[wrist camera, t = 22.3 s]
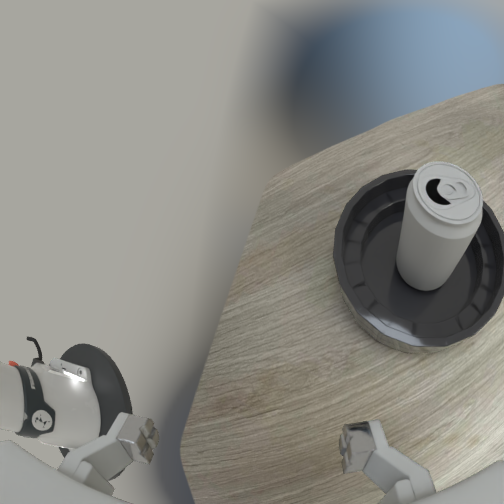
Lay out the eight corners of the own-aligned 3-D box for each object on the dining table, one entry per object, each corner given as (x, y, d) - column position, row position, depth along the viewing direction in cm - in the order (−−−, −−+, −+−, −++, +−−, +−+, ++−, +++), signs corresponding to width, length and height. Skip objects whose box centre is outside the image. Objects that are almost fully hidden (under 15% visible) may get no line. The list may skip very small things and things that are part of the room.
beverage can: (390, 241, 27) (397, 160, 17) (442, 234, 24) (467, 154, 15) (400, 297, 24) (421, 233, 14) (455, 288, 21) (500, 223, 12)
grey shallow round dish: (327, 349, 25) (321, 341, 21) (343, 197, 33) (338, 169, 28) (494, 351, 17) (516, 342, 13) (476, 200, 25) (486, 174, 21)
